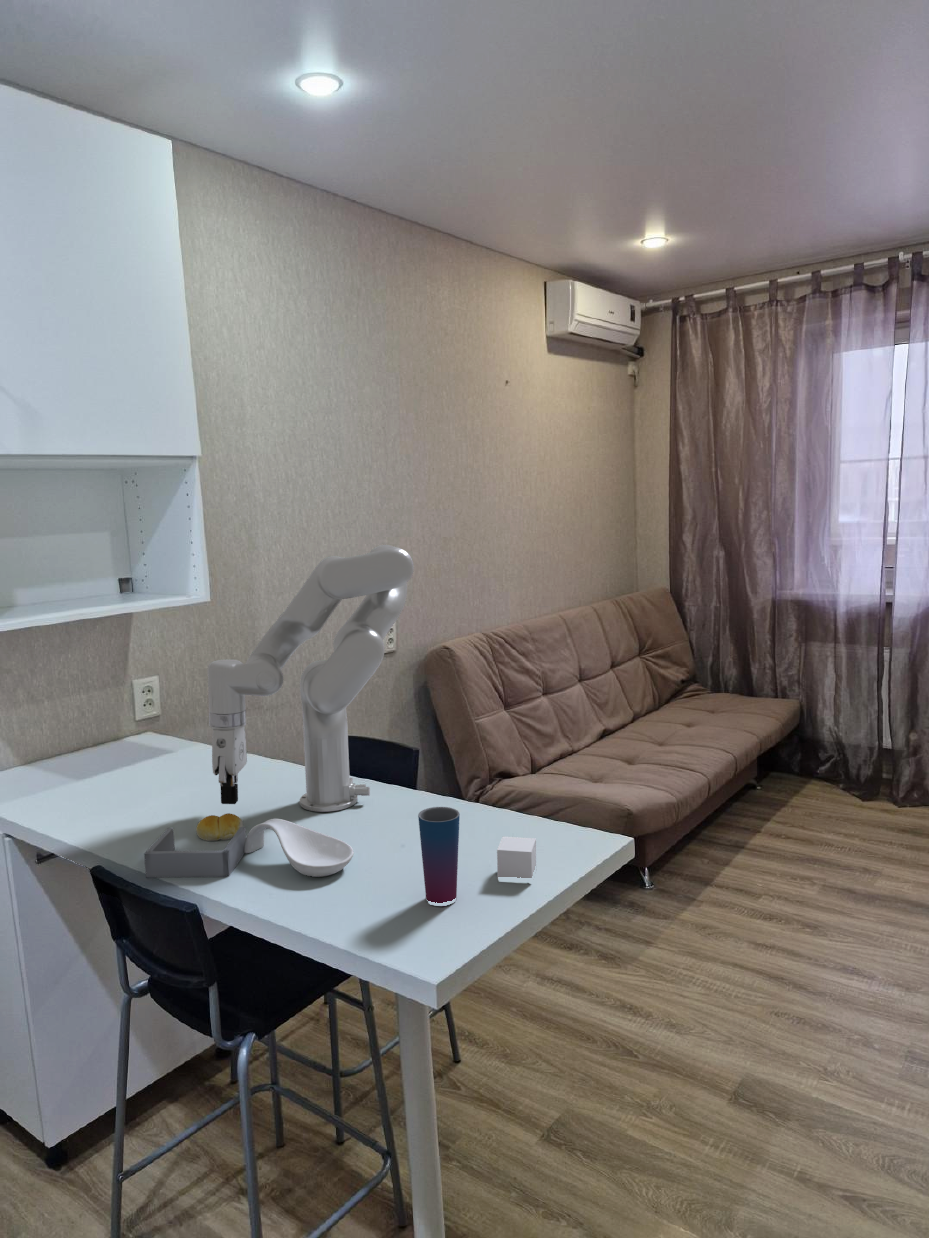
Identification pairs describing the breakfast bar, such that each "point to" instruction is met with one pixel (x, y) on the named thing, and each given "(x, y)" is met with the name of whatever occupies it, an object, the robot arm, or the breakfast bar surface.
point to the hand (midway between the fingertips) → (229, 802)
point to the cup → (439, 852)
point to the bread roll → (218, 827)
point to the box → (192, 858)
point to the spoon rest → (303, 847)
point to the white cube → (516, 857)
